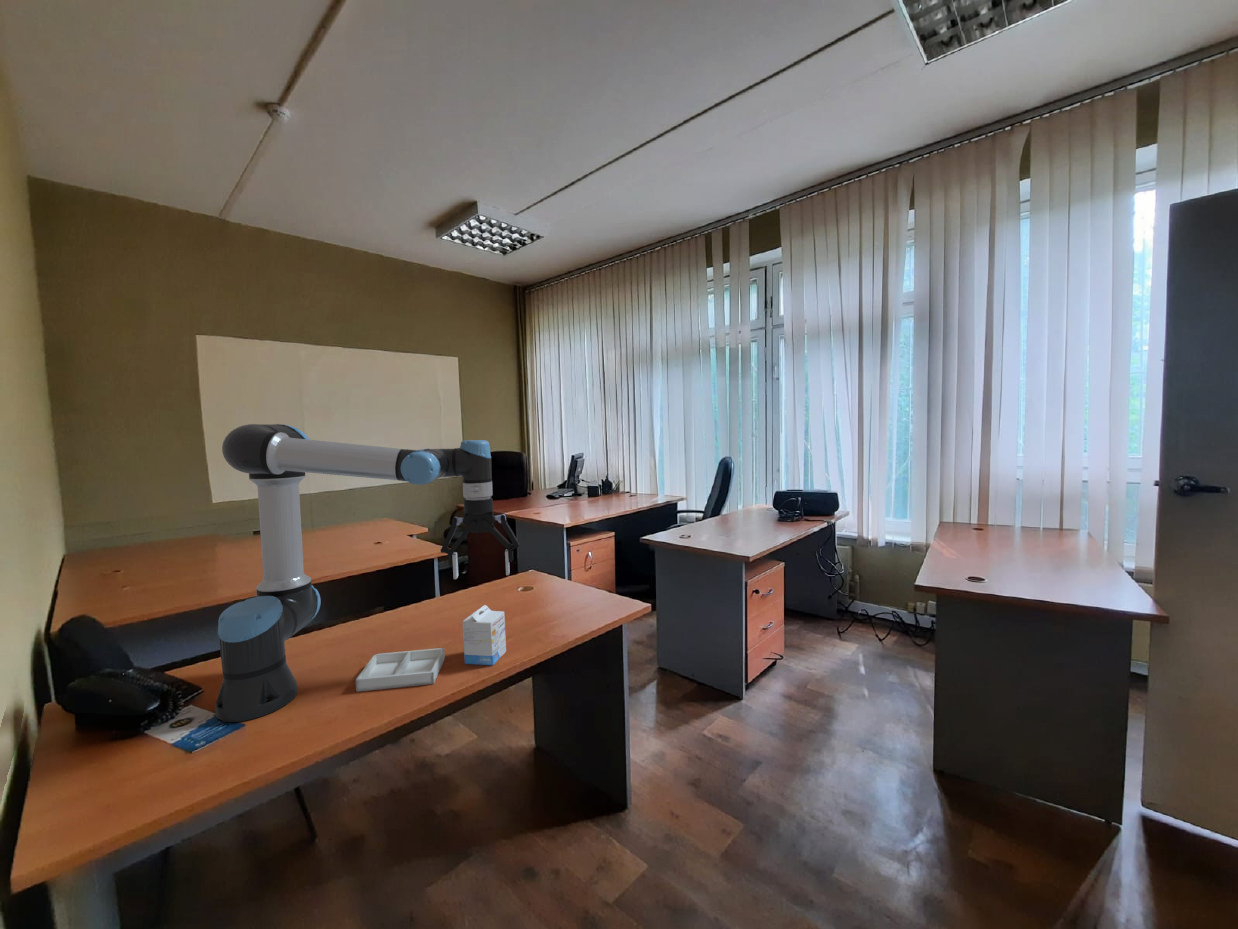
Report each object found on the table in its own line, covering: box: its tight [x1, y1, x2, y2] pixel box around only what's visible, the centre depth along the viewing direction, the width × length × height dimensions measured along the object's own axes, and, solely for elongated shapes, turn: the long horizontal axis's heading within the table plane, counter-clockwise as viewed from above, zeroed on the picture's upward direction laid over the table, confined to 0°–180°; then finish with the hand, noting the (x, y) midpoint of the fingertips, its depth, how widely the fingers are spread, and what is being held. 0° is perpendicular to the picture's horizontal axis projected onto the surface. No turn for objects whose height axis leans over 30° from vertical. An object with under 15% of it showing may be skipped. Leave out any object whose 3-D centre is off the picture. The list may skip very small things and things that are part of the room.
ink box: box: [462, 604, 507, 666], centre depth 129 cm, size 9×8×13 cm
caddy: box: [355, 647, 446, 693], centre depth 122 cm, size 18×13×3 cm
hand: (482, 575), depth 128 cm, fingers open, 13 cm apart
